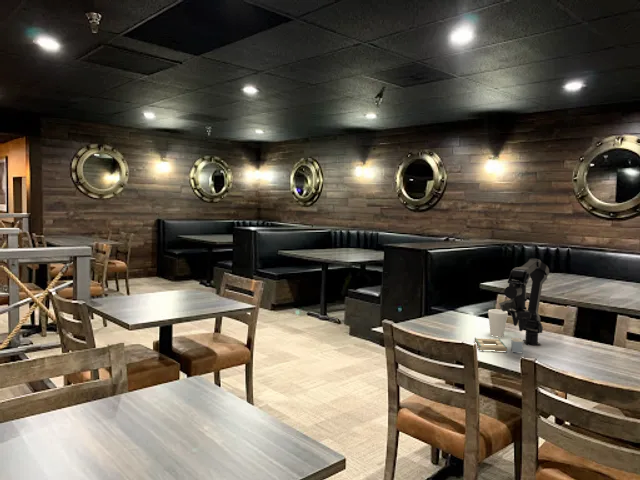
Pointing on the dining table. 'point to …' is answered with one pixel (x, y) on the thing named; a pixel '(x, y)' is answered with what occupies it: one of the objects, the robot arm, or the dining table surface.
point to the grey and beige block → (516, 344)
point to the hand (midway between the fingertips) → (517, 328)
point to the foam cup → (497, 322)
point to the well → (497, 347)
